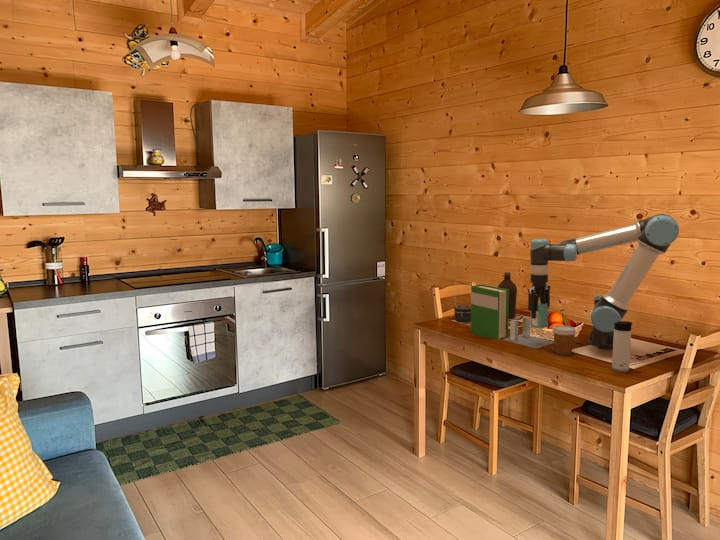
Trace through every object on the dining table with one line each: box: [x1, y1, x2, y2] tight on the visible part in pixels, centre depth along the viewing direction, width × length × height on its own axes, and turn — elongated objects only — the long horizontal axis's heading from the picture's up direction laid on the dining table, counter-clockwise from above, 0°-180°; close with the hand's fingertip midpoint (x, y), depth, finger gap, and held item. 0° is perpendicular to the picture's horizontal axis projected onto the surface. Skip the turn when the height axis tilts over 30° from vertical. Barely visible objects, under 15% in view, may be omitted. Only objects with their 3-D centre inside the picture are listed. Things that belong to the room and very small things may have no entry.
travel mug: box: [611, 320, 633, 373], centre depth 222 cm, size 6×7×20 cm
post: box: [507, 319, 521, 343], centre depth 264 cm, size 4×4×10 cm
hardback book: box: [470, 284, 509, 340], centre depth 274 cm, size 18×7×24 cm, turn 33°
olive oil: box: [497, 271, 518, 320], centre depth 311 cm, size 11×11×25 cm
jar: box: [453, 304, 471, 323], centre depth 307 cm, size 10×10×8 cm
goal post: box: [519, 316, 534, 339], centre depth 269 cm, size 4×4×10 cm
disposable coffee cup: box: [552, 324, 577, 356], centre depth 243 cm, size 10×10×12 cm
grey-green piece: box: [530, 302, 548, 330], centre depth 255 cm, size 5×5×11 cm
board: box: [501, 333, 555, 349], centre depth 263 cm, size 19×15×1 cm
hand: (539, 324), depth 256 cm, fingers closed on grey-green piece, 5 cm apart
